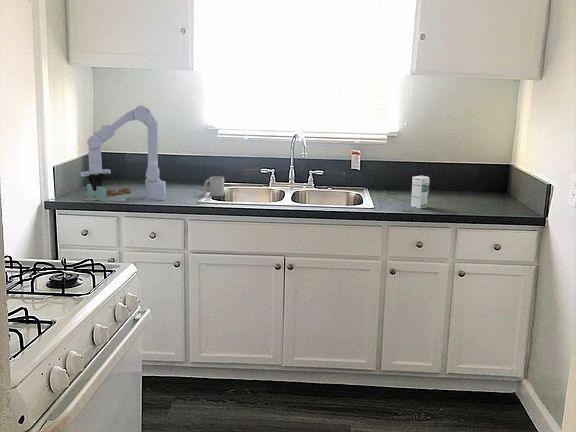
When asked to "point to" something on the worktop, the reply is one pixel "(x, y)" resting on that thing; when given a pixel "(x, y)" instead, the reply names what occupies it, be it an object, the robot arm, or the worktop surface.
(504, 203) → the worktop surface
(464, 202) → the worktop surface
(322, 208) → the worktop surface
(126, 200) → the worktop surface
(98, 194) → the teal bar
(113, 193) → the brown notched bar
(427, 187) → the syrup box
